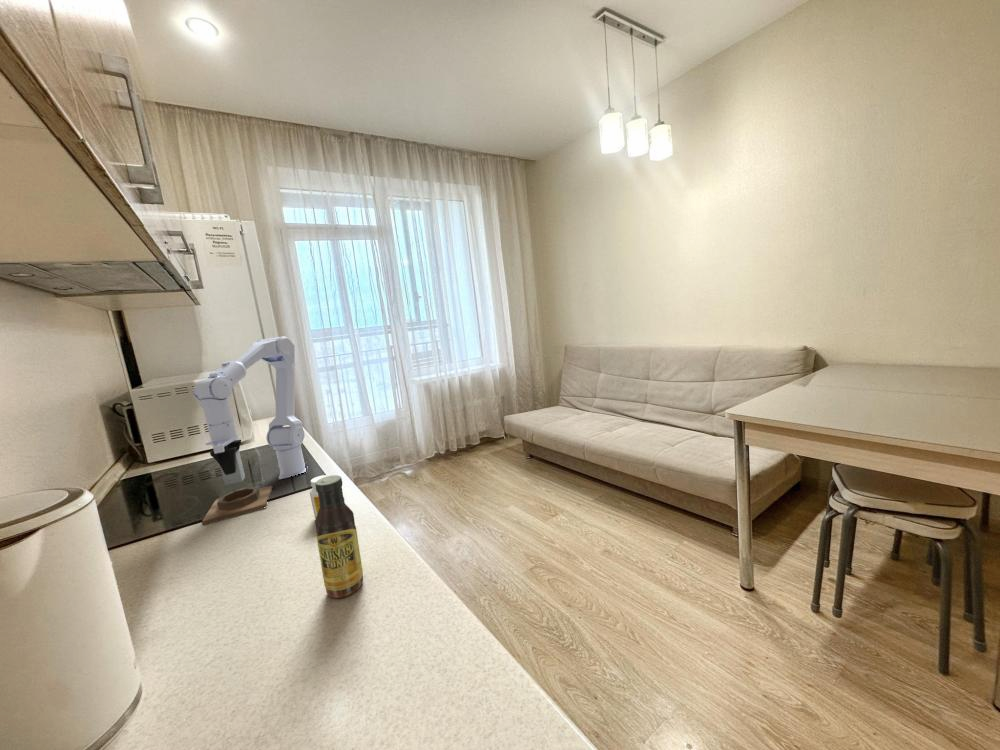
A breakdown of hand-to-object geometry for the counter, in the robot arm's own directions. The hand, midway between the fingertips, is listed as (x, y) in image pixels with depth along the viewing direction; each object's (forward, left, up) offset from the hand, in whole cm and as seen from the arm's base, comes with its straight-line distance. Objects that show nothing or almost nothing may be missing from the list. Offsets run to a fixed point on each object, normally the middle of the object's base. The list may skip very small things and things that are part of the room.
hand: (232, 470), depth 105 cm
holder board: (0, 0, -10) cm, 10 cm away
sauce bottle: (+54, +25, -10) cm, 60 cm away
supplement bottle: (+23, +22, -10) cm, 33 cm away
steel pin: (0, 0, -3) cm, 3 cm away
